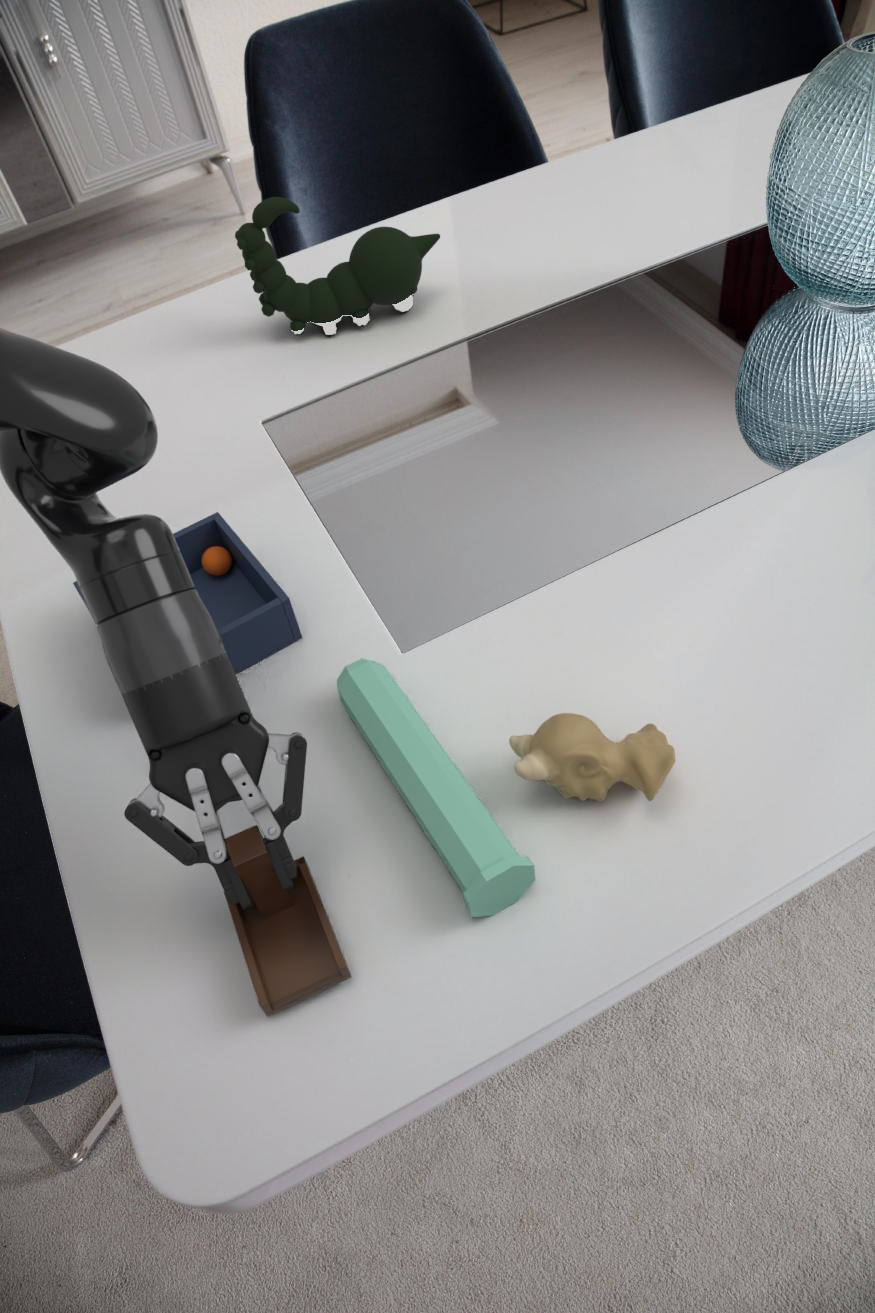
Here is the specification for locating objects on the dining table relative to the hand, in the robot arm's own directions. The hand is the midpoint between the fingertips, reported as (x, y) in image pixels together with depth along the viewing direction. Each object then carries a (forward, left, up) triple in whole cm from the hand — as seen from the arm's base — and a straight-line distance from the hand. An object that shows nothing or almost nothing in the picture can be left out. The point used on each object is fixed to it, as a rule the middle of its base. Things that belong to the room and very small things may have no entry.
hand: (268, 894), depth 65 cm
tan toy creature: (+26, -4, -6) cm, 27 cm away
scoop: (0, -1, -5) cm, 5 cm away
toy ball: (+13, +38, -4) cm, 40 cm away
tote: (+7, +33, -6) cm, 34 cm away
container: (+15, +4, -6) cm, 17 cm away
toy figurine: (+49, +71, -6) cm, 87 cm away
